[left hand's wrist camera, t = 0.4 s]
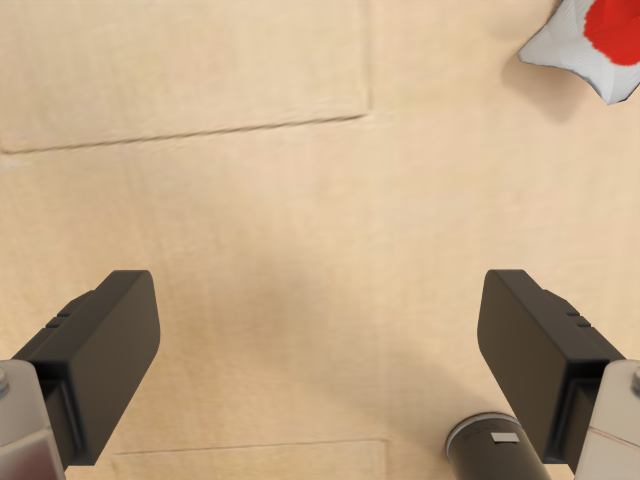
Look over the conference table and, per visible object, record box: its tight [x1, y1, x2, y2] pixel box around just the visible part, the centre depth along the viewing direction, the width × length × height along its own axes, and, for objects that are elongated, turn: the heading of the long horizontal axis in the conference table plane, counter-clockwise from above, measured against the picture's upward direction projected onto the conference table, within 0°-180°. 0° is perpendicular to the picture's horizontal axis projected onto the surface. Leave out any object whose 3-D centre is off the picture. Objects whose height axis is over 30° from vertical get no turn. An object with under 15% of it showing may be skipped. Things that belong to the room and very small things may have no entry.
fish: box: [518, 0, 640, 105], centre depth 32 cm, size 11×16×10 cm
